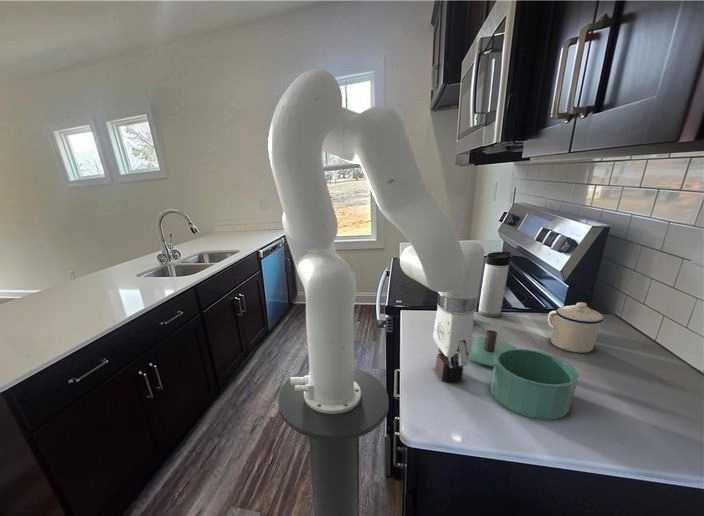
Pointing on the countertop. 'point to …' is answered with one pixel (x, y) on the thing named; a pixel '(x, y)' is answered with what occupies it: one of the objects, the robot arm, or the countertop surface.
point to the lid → (487, 348)
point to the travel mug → (494, 283)
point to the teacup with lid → (575, 327)
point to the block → (443, 365)
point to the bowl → (533, 383)
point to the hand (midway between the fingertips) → (448, 373)
